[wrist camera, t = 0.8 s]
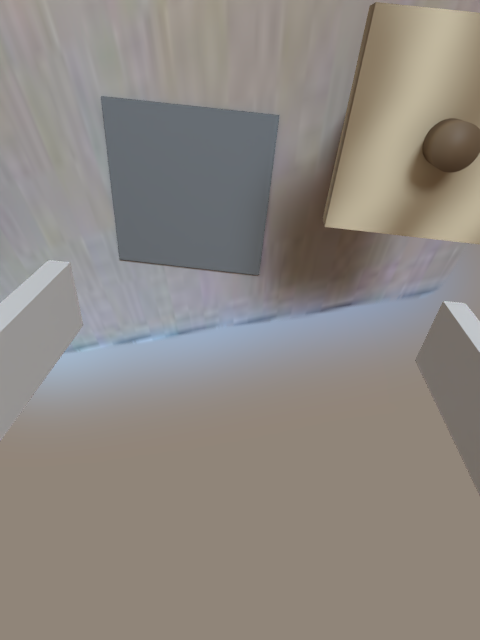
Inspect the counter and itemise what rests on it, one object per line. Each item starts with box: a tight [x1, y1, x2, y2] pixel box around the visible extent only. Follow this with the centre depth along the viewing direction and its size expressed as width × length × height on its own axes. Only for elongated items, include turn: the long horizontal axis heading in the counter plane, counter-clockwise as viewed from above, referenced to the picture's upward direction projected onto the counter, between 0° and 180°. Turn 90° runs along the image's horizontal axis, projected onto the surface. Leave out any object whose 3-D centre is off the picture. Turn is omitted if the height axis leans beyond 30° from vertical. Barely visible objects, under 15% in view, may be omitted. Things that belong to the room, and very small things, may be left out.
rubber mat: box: [101, 96, 279, 275], centre depth 37 cm, size 16×16×1 cm
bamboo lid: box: [323, 2, 480, 244], centre depth 20 cm, size 11×11×3 cm
